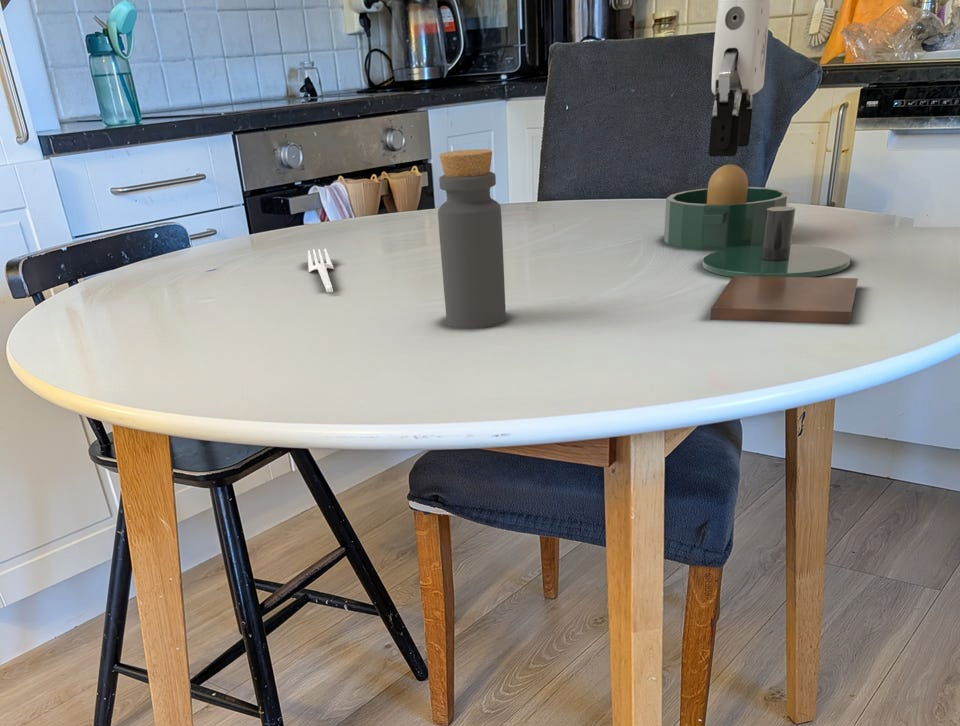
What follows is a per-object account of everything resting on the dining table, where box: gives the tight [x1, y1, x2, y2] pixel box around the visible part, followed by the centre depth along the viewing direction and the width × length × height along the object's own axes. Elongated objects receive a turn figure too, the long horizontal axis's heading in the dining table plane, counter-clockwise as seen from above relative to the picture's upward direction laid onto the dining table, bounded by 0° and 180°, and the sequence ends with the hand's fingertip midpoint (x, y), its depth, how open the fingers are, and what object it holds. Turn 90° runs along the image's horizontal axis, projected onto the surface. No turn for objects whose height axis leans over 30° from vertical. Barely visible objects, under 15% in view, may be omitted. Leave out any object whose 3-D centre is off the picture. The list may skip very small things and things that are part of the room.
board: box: [709, 276, 859, 325], centre depth 83 cm, size 12×13×2 cm
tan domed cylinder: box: [707, 164, 749, 204], centre depth 109 cm, size 5×5×8 cm
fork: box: [307, 248, 335, 293], centre depth 108 cm, size 3×20×2 cm, turn 13°
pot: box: [663, 186, 790, 251], centre depth 110 cm, size 15×20×6 cm
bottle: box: [437, 148, 507, 330], centre depth 82 cm, size 6×6×15 cm
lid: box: [702, 206, 851, 278], centre depth 96 cm, size 16×16×6 cm
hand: (729, 150), depth 106 cm, fingers open, 9 cm apart
